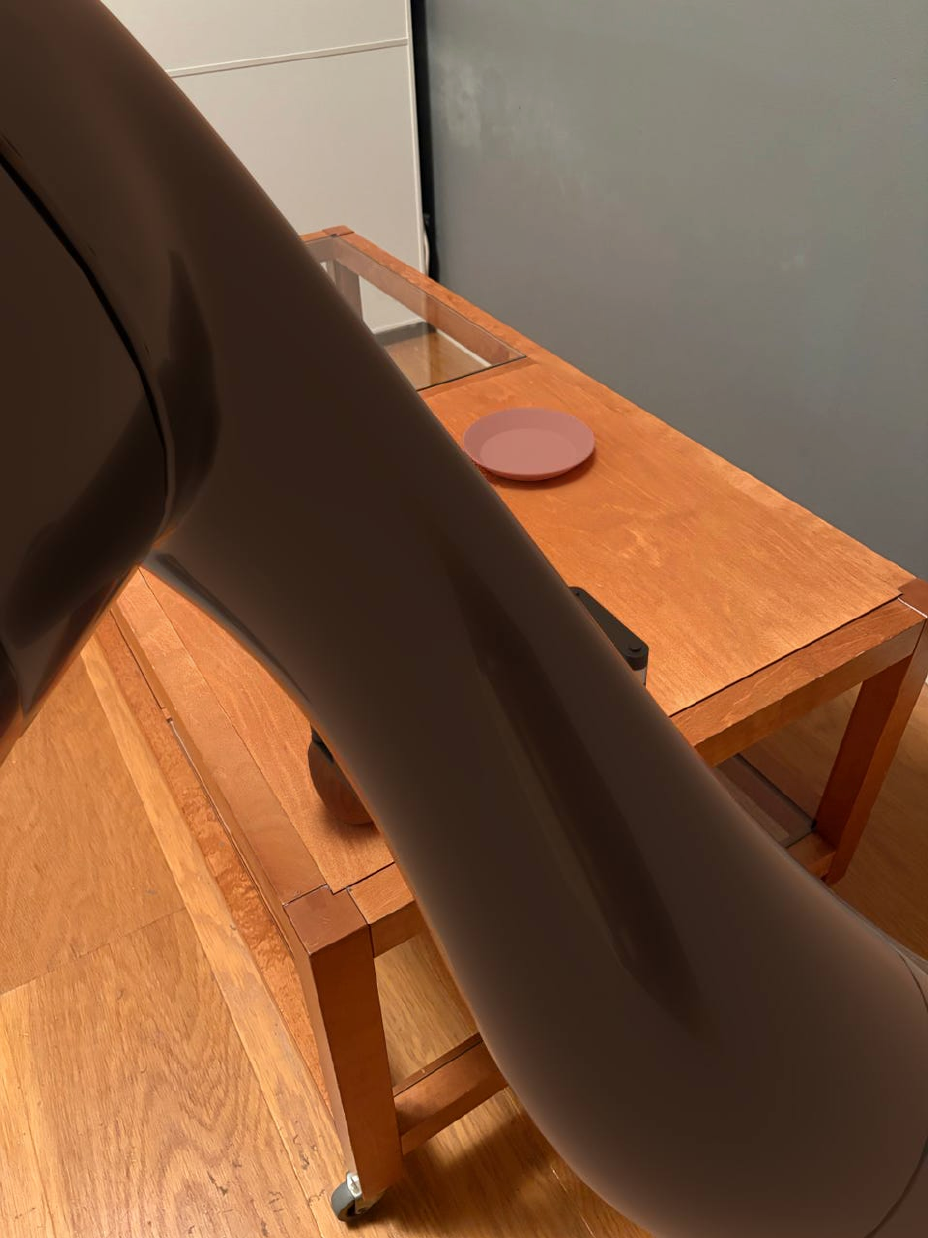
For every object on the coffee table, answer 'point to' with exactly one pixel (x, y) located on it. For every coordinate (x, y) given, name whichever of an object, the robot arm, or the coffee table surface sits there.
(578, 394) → the coffee table surface
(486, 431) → the plate
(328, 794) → the wooden figurine
